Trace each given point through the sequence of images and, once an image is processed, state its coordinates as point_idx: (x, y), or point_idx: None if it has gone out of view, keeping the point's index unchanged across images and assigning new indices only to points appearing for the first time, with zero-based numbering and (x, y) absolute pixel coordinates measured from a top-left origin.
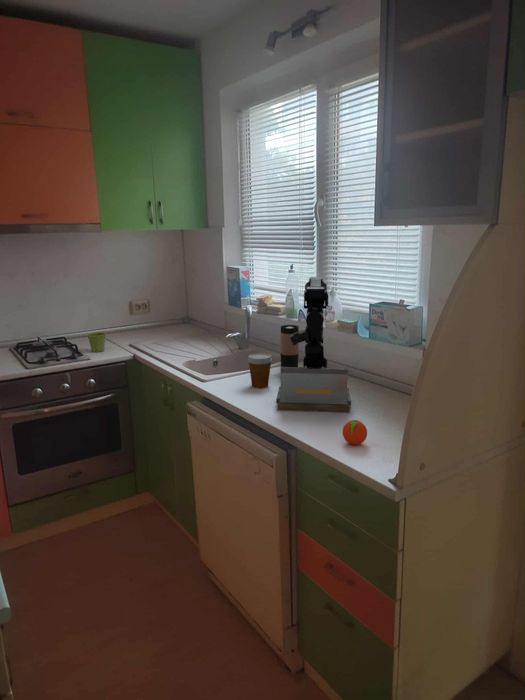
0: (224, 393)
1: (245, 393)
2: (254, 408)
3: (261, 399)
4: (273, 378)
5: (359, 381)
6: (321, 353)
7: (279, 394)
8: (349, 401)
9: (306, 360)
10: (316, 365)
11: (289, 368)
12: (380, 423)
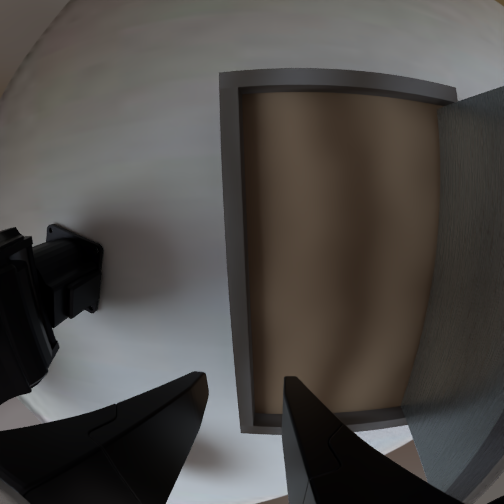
0: (235, 495)
1: (225, 469)
2: (370, 444)
3: (280, 441)
4: (61, 390)
5: (17, 94)
6: (443, 501)
7: (358, 426)
8: (455, 96)
9: (34, 378)
10: (310, 393)
11: (481, 495)
12: (492, 34)
